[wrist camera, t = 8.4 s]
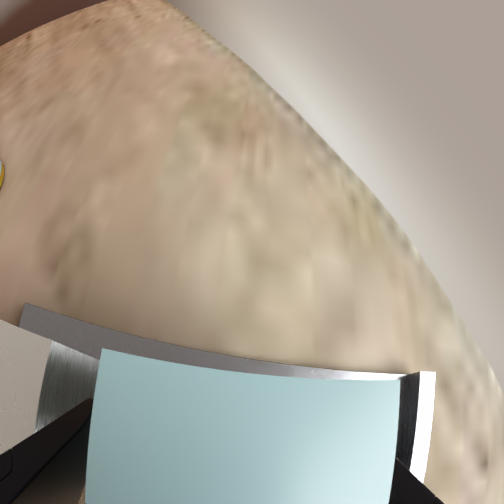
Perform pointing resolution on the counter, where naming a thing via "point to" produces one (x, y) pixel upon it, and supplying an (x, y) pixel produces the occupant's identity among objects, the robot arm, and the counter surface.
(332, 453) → the block
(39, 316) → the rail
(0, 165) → the bottle
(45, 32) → the counter surface
